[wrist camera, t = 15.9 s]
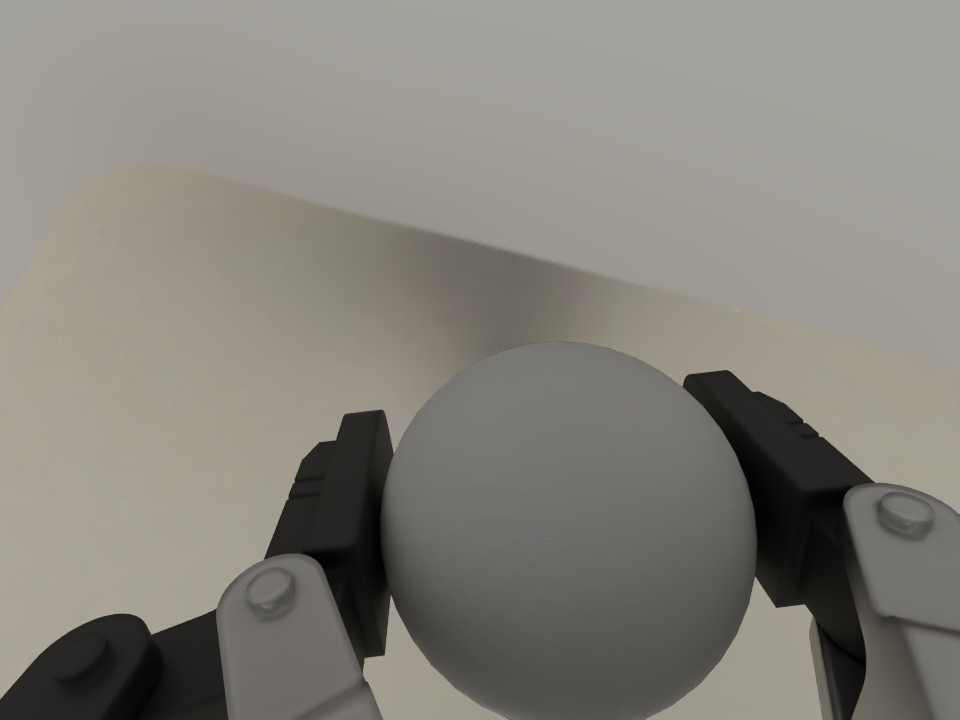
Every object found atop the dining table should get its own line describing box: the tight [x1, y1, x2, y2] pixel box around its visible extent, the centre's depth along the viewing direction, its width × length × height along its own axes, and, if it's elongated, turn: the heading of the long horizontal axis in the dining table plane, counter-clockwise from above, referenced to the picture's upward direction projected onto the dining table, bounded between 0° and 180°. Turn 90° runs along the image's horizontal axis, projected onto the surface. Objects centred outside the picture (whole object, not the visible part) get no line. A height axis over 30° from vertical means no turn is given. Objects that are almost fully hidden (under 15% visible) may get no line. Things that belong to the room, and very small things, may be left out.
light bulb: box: [380, 342, 757, 720], centre depth 11 cm, size 6×6×10 cm
